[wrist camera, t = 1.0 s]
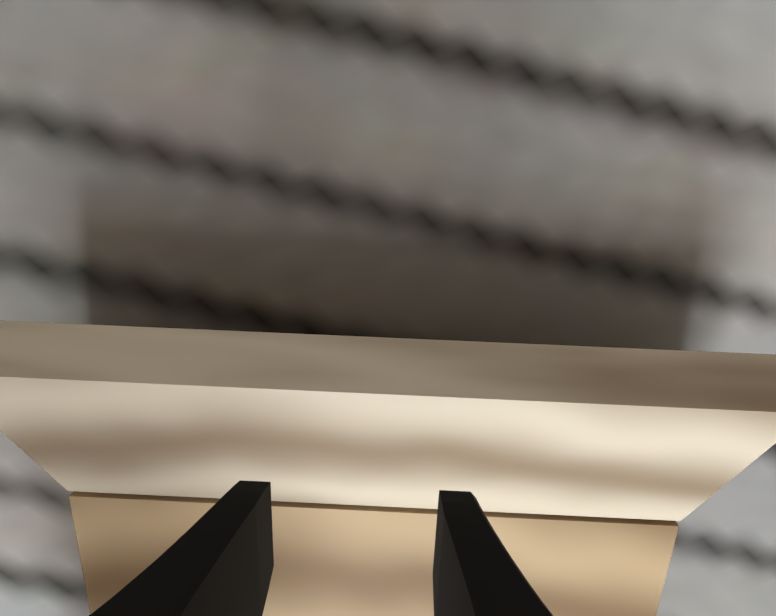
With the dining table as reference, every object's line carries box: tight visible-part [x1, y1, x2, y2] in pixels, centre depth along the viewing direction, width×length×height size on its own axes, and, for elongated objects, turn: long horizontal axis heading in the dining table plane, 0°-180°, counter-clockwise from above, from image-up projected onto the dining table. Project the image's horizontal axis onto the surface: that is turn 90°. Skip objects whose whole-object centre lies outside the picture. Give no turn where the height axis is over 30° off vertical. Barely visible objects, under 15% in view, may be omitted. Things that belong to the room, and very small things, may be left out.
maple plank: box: [0, 321, 776, 521], centre depth 18 cm, size 8×24×2 cm, turn 88°
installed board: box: [69, 491, 679, 616], centre depth 22 cm, size 9×24×2 cm, turn 88°
